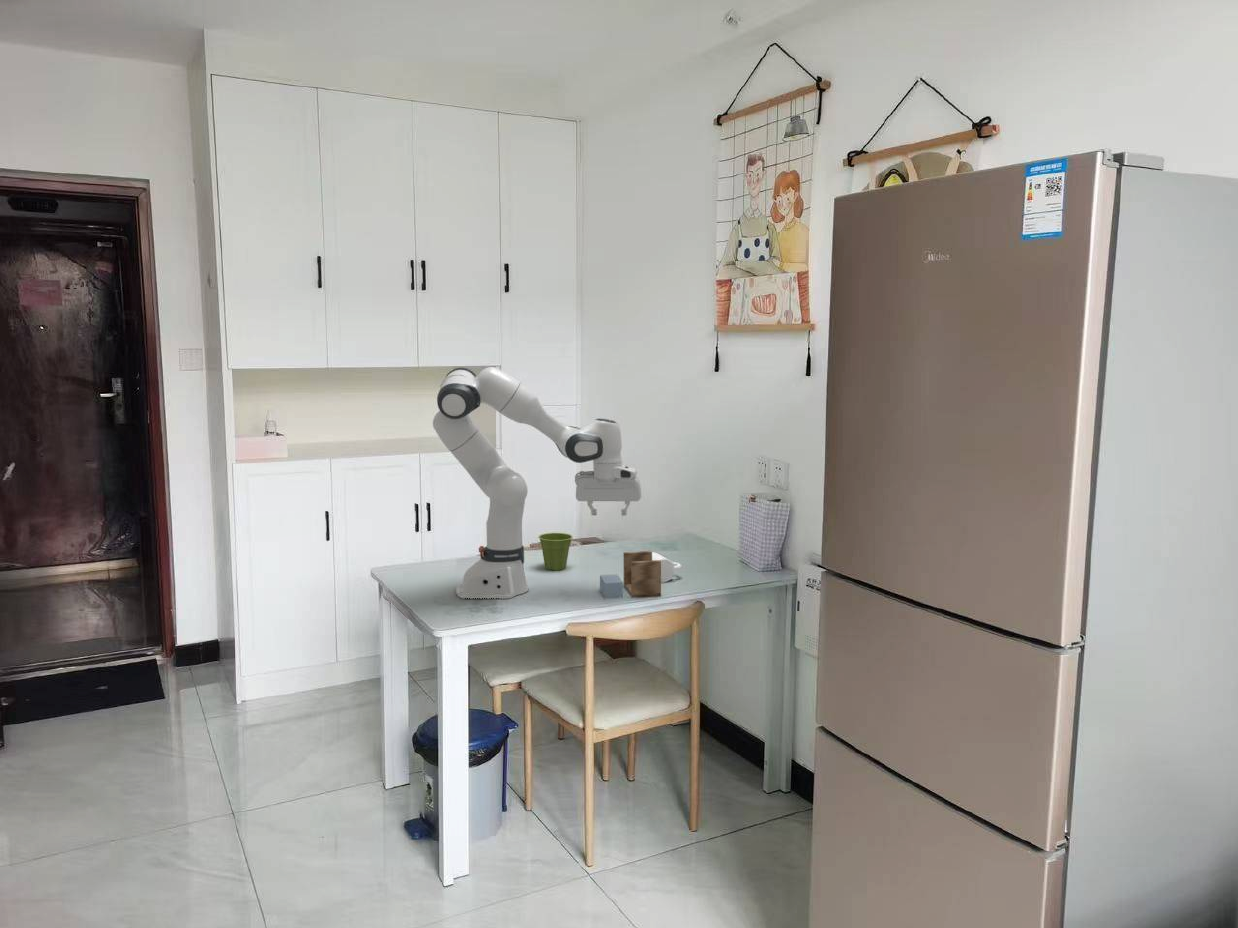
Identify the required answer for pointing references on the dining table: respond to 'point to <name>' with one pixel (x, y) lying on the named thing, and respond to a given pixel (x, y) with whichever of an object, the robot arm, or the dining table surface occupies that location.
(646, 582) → the stand
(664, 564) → the mug
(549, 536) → the plant pot
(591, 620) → the dining table surface
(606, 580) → the light blue block
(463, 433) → the robot arm
